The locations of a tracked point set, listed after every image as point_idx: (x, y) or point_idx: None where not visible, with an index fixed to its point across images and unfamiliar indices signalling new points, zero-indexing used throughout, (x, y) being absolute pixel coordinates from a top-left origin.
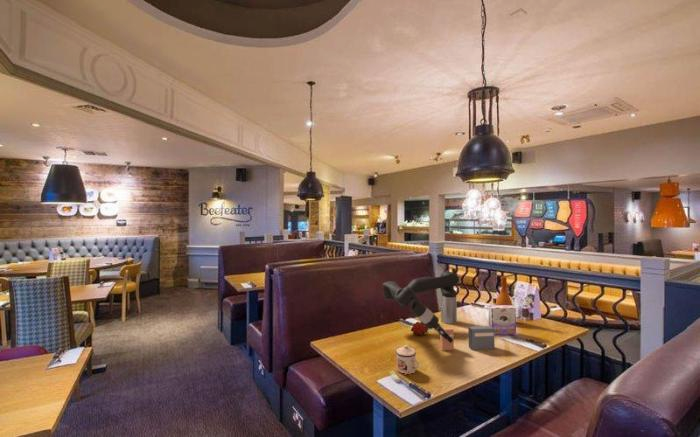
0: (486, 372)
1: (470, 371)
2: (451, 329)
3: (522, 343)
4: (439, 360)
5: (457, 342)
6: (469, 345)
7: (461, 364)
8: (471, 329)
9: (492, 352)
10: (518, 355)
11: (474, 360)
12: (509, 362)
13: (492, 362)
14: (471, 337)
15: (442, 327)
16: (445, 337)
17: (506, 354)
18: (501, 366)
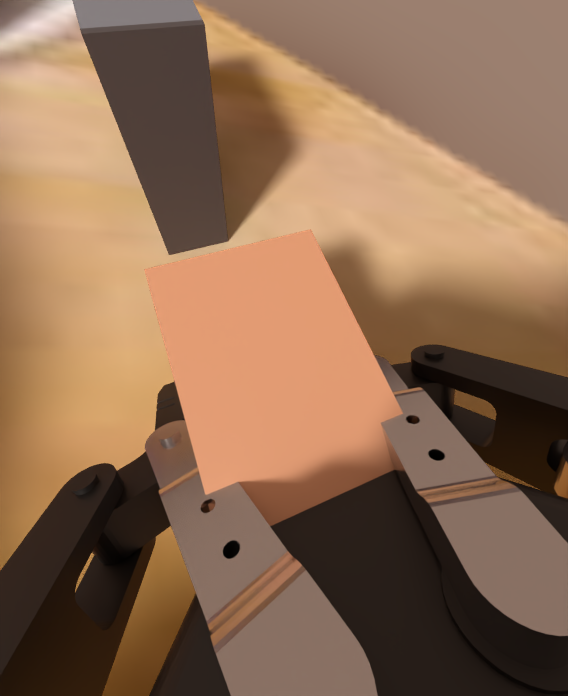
0: (513, 201)
1: (553, 271)
2: (324, 263)
3: (68, 5)
4: (521, 480)
5: (81, 334)
6: (183, 238)
7: (494, 316)
8: (203, 27)
9: (237, 140)
10: (243, 52)
11: (396, 239)
12: (344, 98)
13: (379, 160)
14: (217, 146)
15: (247, 480)
16: (453, 407)
17: (245, 90)
18: (407, 134)
